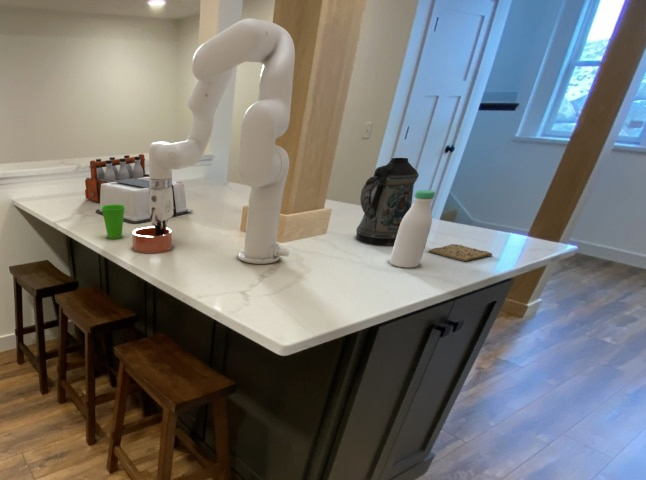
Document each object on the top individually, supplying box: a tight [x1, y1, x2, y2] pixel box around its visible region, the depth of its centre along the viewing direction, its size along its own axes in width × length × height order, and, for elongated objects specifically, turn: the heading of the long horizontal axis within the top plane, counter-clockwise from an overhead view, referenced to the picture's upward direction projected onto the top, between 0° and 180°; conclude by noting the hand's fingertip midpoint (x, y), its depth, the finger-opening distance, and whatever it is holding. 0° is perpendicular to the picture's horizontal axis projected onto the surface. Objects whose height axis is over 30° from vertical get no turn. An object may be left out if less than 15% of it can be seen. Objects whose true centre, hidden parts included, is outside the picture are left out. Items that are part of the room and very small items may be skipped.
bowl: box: [132, 226, 173, 254], centre depth 154 cm, size 13×13×6 cm
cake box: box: [95, 177, 194, 224], centre depth 201 cm, size 35×33×12 cm
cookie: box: [428, 243, 493, 262], centre depth 136 cm, size 12×12×1 cm
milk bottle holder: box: [84, 153, 149, 203], centre depth 231 cm, size 21×35×19 cm, turn 126°
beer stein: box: [355, 157, 420, 247], centre depth 145 cm, size 16×19×25 cm
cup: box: [101, 205, 125, 240], centre depth 166 cm, size 9×9×11 cm
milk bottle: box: [389, 189, 436, 268], centre depth 125 cm, size 8×8×20 cm
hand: (160, 239), depth 159 cm, fingers closed on bowl, 1 cm apart
